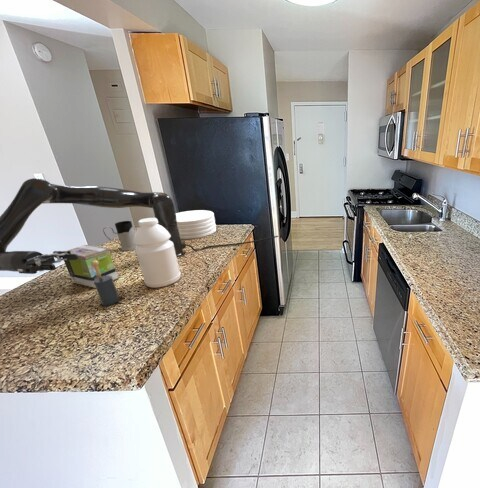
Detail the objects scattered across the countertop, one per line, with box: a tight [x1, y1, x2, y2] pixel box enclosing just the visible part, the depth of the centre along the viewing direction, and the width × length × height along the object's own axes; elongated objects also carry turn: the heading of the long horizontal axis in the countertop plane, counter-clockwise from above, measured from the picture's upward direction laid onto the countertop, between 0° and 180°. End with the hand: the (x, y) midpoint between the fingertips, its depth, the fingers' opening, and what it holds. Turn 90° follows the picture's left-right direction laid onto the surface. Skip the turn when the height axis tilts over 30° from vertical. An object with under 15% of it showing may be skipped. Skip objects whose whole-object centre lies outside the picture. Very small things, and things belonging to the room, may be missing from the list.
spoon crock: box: [91, 260, 121, 307], centre depth 97 cm, size 5×5×18 cm
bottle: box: [133, 217, 182, 289], centre depth 110 cm, size 14×14×28 cm
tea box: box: [63, 244, 119, 289], centre depth 112 cm, size 15×10×15 cm, turn 71°
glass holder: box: [102, 220, 138, 251], centre depth 146 cm, size 9×14×15 cm, turn 116°
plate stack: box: [176, 209, 217, 240], centre depth 174 cm, size 28×28×12 cm
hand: (65, 261), depth 94 cm, fingers open, 8 cm apart
